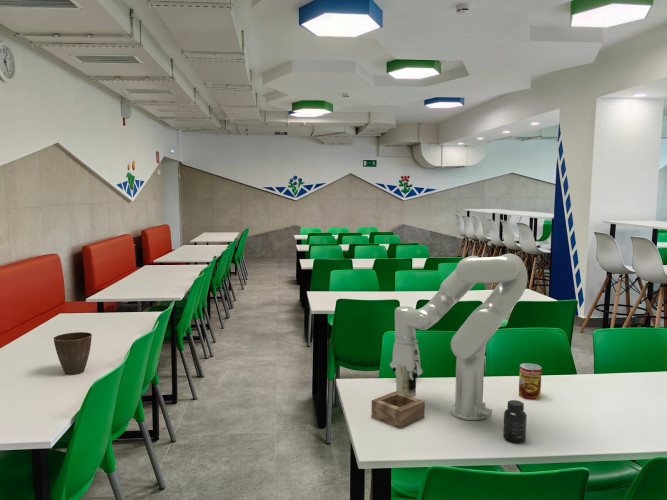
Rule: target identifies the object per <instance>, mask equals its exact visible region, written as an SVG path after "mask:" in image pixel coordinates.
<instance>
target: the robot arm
mask: <svg viewBox="0 0 667 500" xmlns="http://www.w3.org/2000/svg"><path fill="white" fill-rule="evenodd" d="M490 283H491V284H492V283H493V284H495V283H496V284H497V283H498V284H497V285H496V287H495V288H494V289H493V290H492V292H491V293H490V294H489V295H488V296H487V298H486V299H485V300H484V302H483V303H481V304H480V305H479V306H477V307H476V309H474V310H473V311H472V313H470V315H469V316H468V317H467V319H466V320H465V321H463V324H462V325H461V326H460V327H459V329H458V330H457V331H456V333H455V334H454V335H453V336H452V337H451V340H450V348H451V352H452V353H453V355H454V356H455V357H456V359H455V360H456V361H455V362H456V363H455V392H454V394H455V395H454V398H455V399H454V405H452V406H451V407H450V414H451V415H452V416H454V417H455V418H458V419H462V420H465V421H481V420H483V419H485V418H487V417H488V418H491V417H492V416H493V409H492V408H487V407H486V404H487V403H486V402H484V375H485V357H486V356H485V355H486V350H487V349H486V348H487V342H489V340H490V339H491V338H492V337H493V335H494V334H495V333H496V332H497V331H498V330H499V328H500V327H501V325H502V324H503V322H504V320H505V318H507V316H508V315H509V314H510V312H512V309H514V307H515V306H516V304H517V303H518V302H519V301H520V299H521V298H522V296H523V294H524V293H525V291H526V288H527V285H528V271H527V267H526V265H525V263H524V261H523V259H521V257H520V256H518V255H516V254H514V253H505V254H501V255H500V256H490V257H489V256H487V257H480V256H477V255H469V256H467V257H464V258H462V259H461V260H460V261H459V262H458V263H457V265H456V268H455V269H454V270H453V271H452V272H451V273H450V274H449V275H448V276H447V277H446V278H445V279H444V280H443V281H442V282H441V284H440V286H439V289H438V291H437V293H436V294H434V296H433V297H432V298H431V299H430V300H429V301H428V302H427V303H426V304H425V305H423V306H422V307H420V308H418V309H415V308H414V307H413V306H410V305H409V306H408V305H406V306H405V305H402V306H397V307H396V308H395V309H394V341H395V342H393V349H392V361H391V362H390V363H389V366H390V368H391V369H392V370H393V373H394V375H395V376H396V364H397V365H402V366H405V368H406V371H408V372H409V375H410V380H409V390H413V389H416V390H417V379H418V377H419V376H420V375H421V374H423V372H424V371H423V369H422V367H421V357H420V350H419V345H418V341H419V340H418V339H417V338H416V330H420V331H423V330H425V331H426V330H428V329H430V328H431V327H432V326H434V325H435V324H437V323H438V322H439V321H440V320H441V319H442V318H443V317H444V316H445V314H446V315H447V313H448V312H449V311H450V310H451V308H452V307H453V306H454V305H455V304H457V303H458V302H459V301H460V300H461V299H462V298H463V297H464V296H466V294H467V293H468V292H469V291H470V290H471V289H472V288H473V287H474V286H475V285H476V284H490ZM415 368H416V369H415ZM412 372H413V373H412Z"/></svg>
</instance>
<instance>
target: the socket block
mask: <svg viewBox="0 0 667 500" xmlns="http://www.w3.org/2000/svg"><path fill="white" fill-rule="evenodd" d="M425 404H426V401H425V400H423V399H419V398H417V397H411V396H408V395H405V394H402V393H399V392H396V390H395V391H392V392H389V393H387V394H385V395H381V396H380V397H377V398H374V399H371V418H373V419H376V420H378V421H381V422H383V423H385V424H388V425H390V426H392V427H396V428H397V429H400V430H401V429H403V428H405V427H408V426H410V425H411V424H414V423H416V422H419V421H420V420H422V419H425V411H426V410H425Z"/></svg>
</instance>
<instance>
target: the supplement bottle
mask: <svg viewBox="0 0 667 500" xmlns="http://www.w3.org/2000/svg"><path fill="white" fill-rule="evenodd" d="M506 407H507V408H506V409H505V410H504V412H503V428H502V429H503V431H502V432H503V433H502V436H503V438H504V440H505V441H507V442H509V443H512V444H517V445H519V444H523V443H524V442H526V439H527V438H526V437H527V420H528V419H527V413H526V411H524V410H525V405H524V403H523V402H522V401H520V400H516V399H515V400H514V399H512V400H511V399H510V400H508V401H507V406H506Z"/></svg>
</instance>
